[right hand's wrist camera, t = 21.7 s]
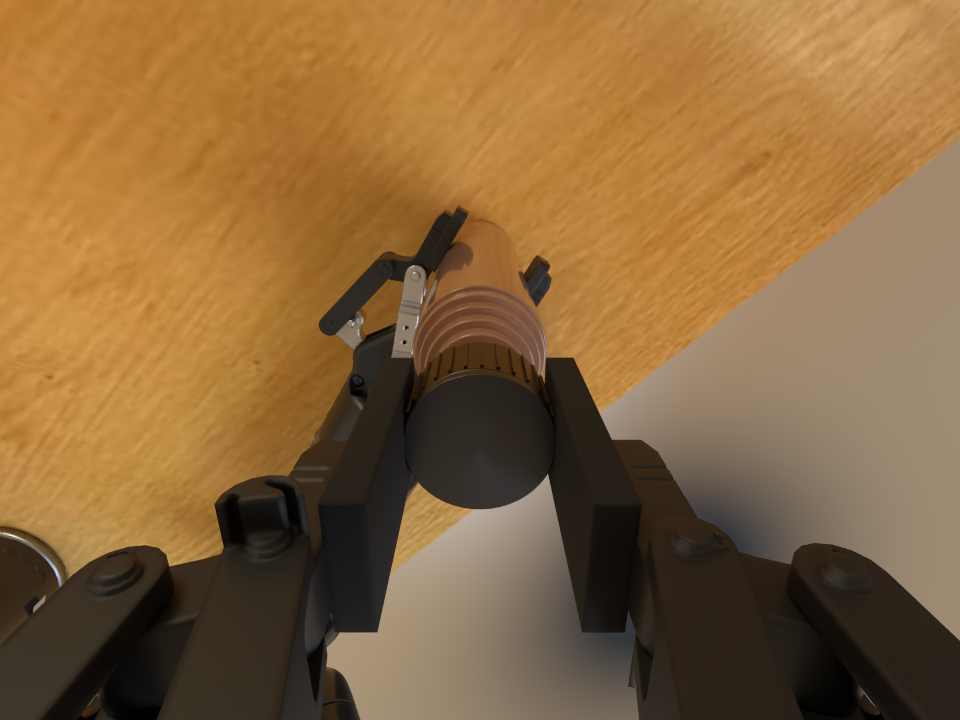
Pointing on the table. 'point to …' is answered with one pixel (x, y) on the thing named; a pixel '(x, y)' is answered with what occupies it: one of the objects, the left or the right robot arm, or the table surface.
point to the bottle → (480, 300)
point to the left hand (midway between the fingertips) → (503, 236)
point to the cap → (479, 427)
